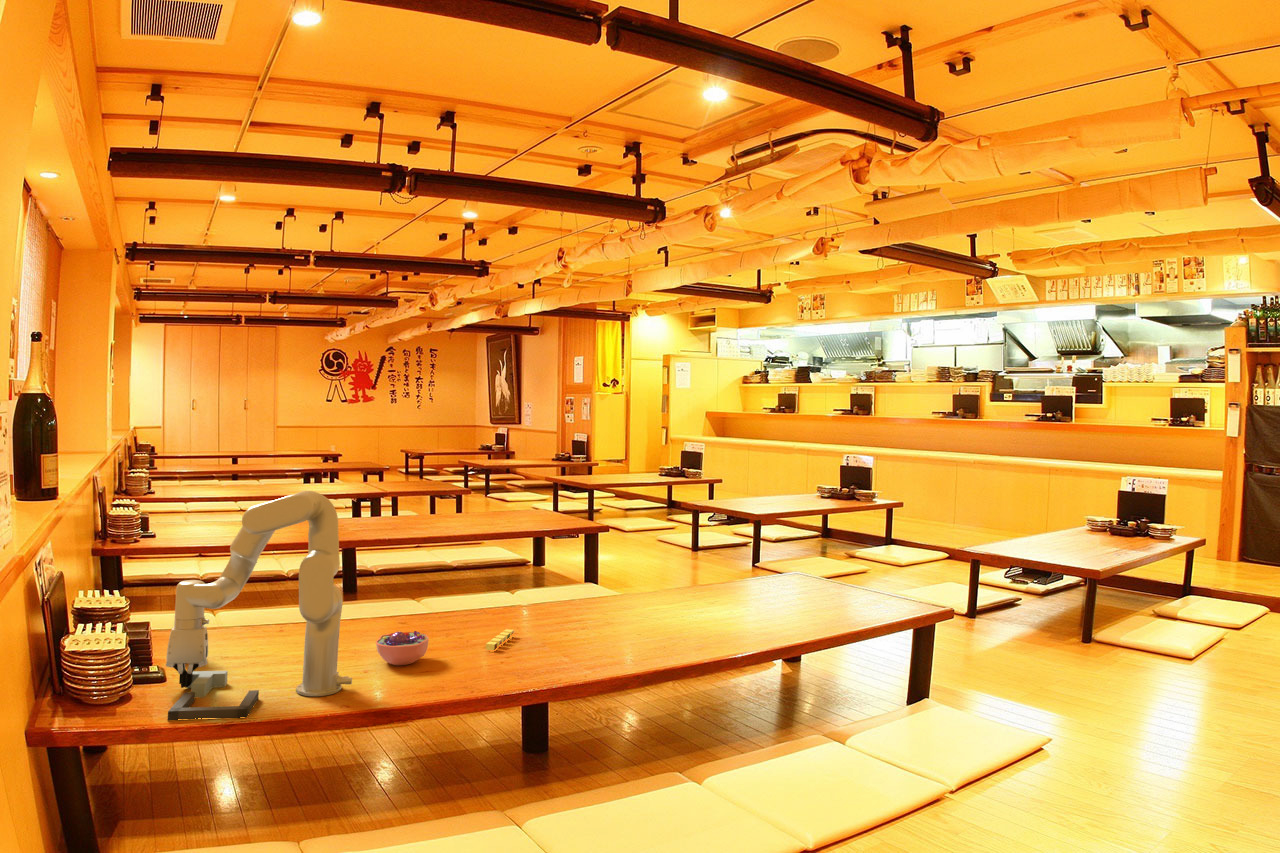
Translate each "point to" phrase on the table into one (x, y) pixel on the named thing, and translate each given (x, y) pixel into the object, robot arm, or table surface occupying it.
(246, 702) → the corral
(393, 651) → the cell model
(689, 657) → the table surface
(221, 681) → the t block
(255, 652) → the table surface
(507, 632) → the yellow segmented bar
